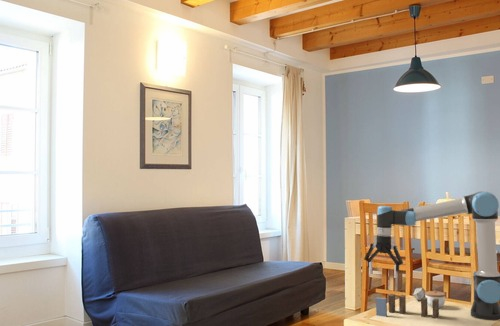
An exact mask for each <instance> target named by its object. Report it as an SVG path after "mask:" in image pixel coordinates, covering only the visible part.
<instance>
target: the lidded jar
mask: <svg viewBox="0 0 500 326" xmlns="http://www.w3.org/2000/svg"><path fill="white" fill-rule="evenodd" d="M425 297H426V298H427V306H429V308H432V309H433V305H432V300H433V299H439V309H441V308H442V307H443V306H444V305H445V302H446V293H445V292H442V291H438V290H436V289H434V290H429V291H427V290H426V292H425Z"/></svg>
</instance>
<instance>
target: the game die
mask: <svg viewBox="0 0 500 326" xmlns="http://www.w3.org/2000/svg"><path fill="white" fill-rule="evenodd" d="M425 292H427V290H426V289H424V288H423V287H416V286H415V287H414V291H413V294H412V295H411V296H413V297H414V298H415V299H416V300H417V302H420V301H421V299H422V298H423V297H425Z"/></svg>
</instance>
